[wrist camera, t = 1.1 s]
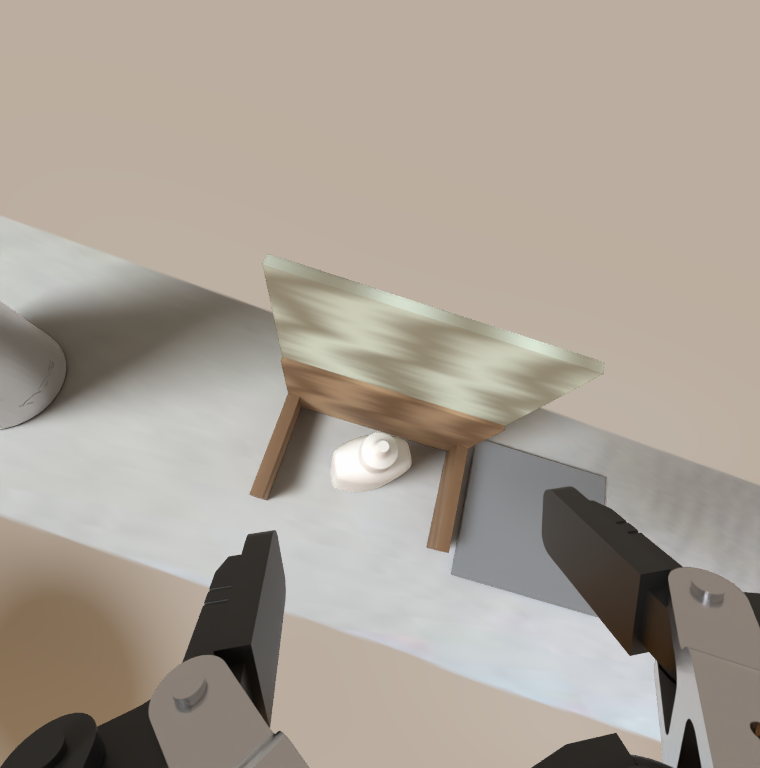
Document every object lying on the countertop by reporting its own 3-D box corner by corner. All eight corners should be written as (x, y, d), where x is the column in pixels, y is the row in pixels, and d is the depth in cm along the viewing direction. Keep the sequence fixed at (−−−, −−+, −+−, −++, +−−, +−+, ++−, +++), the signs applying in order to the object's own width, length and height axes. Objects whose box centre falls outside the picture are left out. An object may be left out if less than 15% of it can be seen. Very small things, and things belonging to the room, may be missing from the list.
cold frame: (255, 496, 32) (170, 458, 14) (294, 393, 36) (268, 252, 17) (437, 550, 33) (591, 583, 14) (458, 444, 36) (604, 360, 18)
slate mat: (450, 574, 33) (452, 574, 32) (475, 438, 37) (477, 438, 37) (595, 616, 33) (598, 617, 33) (602, 477, 37) (605, 477, 37)
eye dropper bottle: (341, 437, 35) (352, 396, 24) (399, 459, 35) (437, 429, 24) (323, 484, 33) (325, 464, 22) (384, 507, 34) (416, 498, 22)
